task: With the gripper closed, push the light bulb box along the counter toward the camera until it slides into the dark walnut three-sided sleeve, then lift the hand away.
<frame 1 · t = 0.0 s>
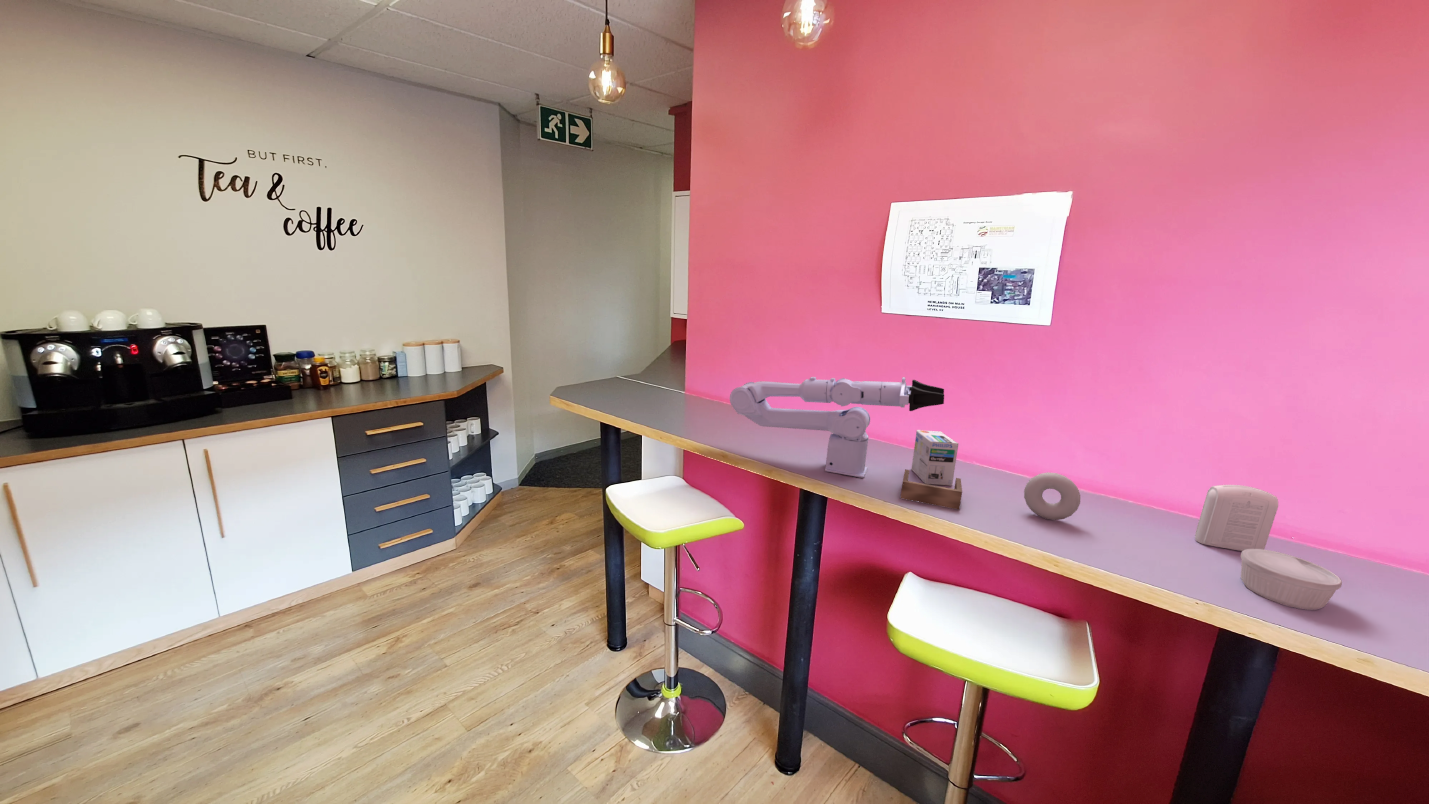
hand: (944, 396, 123), 22 cm above the table, tool horizontal, fingers open, 7 cm apart
light bulb box: (930, 478, 134), on the table
donut: (1046, 519, 113), on the table
walnut sleeve: (929, 496, 121), on the table
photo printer: (1227, 547, 104), on the table
ramekin: (1280, 595, 88), on the table
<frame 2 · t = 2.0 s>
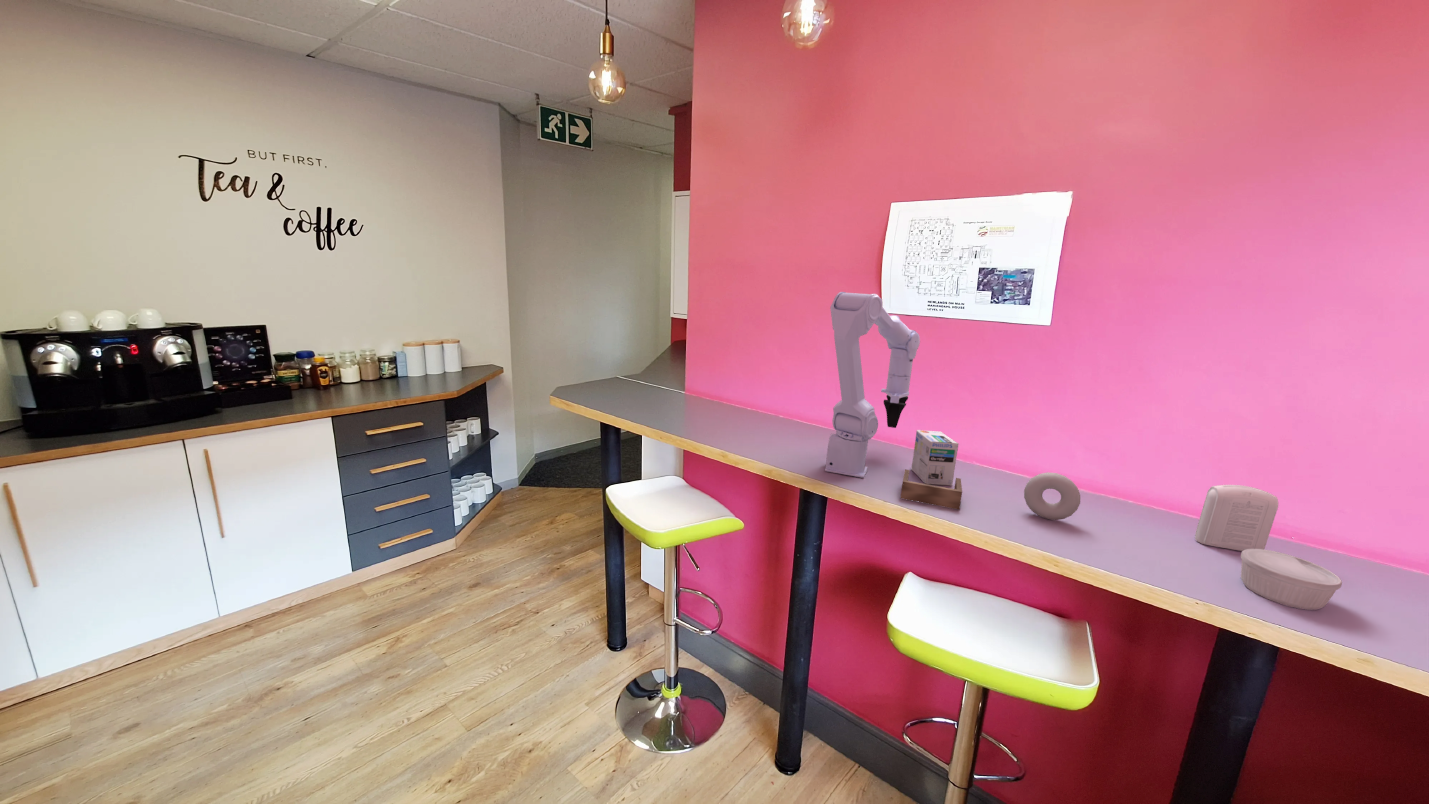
hand: (892, 424, 145), 9 cm above the table, tool pointing down, fingers open, 6 cm apart
nothing on the table moved.
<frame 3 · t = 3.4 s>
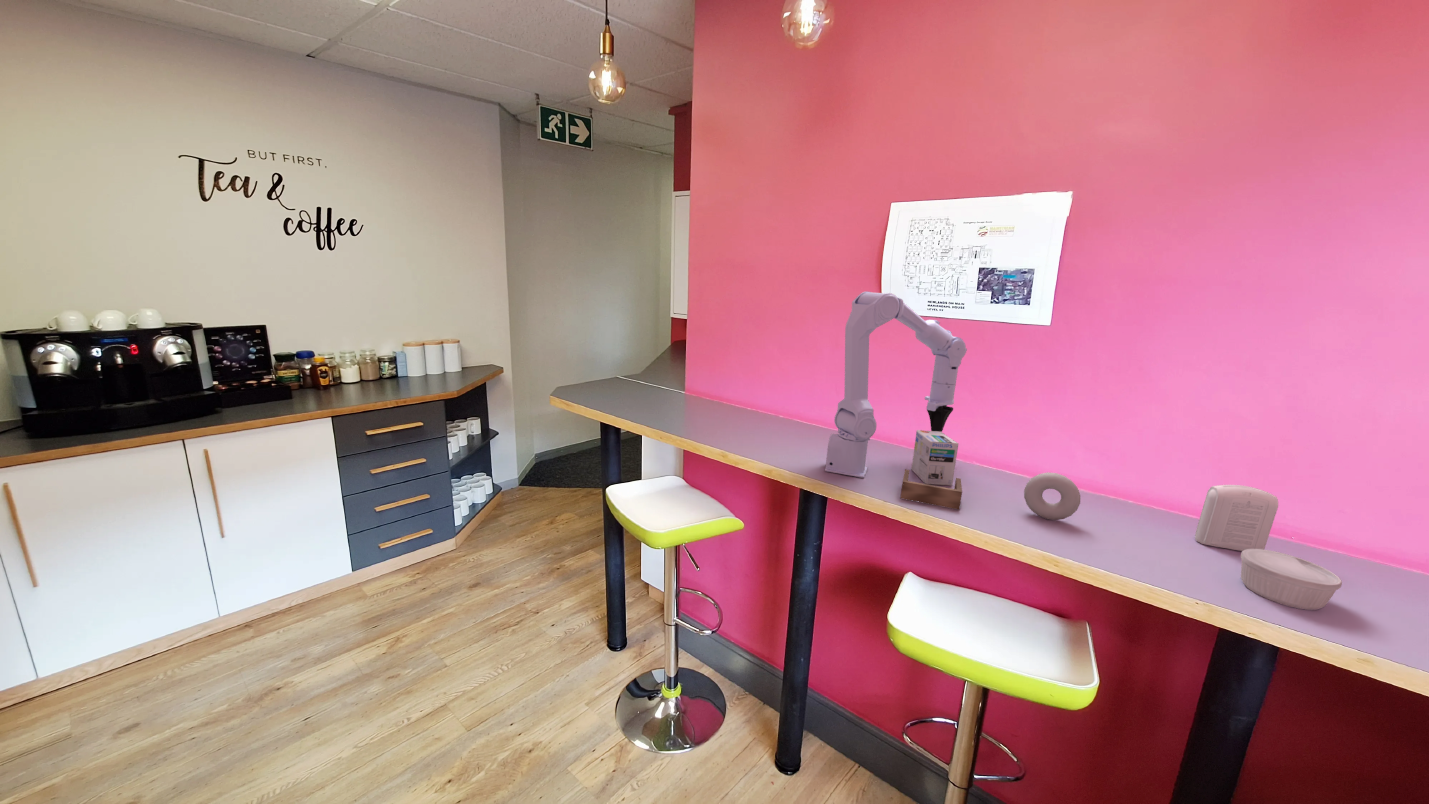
hand: (936, 433, 142), 9 cm above the table, tool pointing down, fingers closed
nothing on the table moved.
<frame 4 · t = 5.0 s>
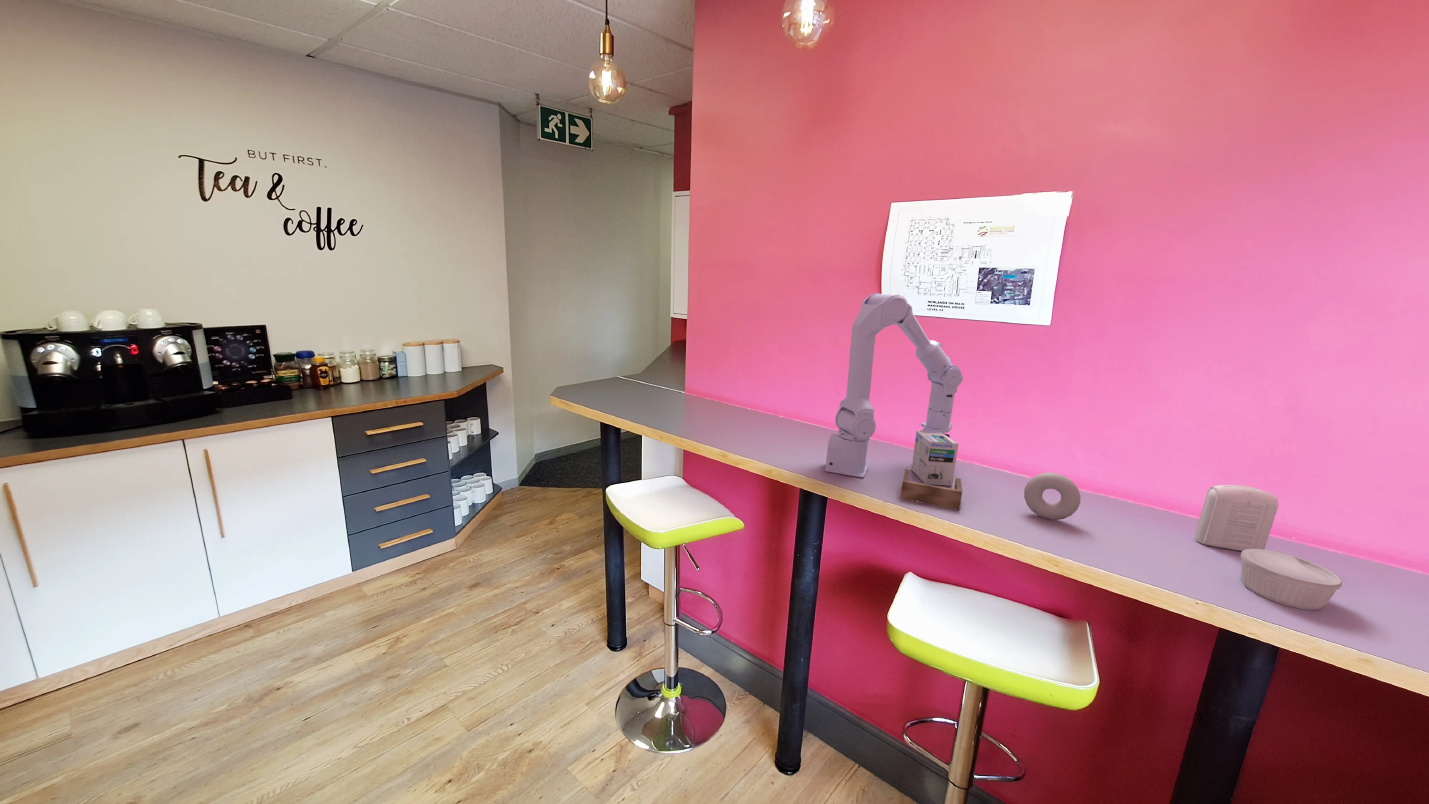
hand: (932, 460, 141), 2 cm above the table, tool pointing down, fingers closed
light bulb box: (930, 478, 133), on the table, touching gripper
everything else where it was.
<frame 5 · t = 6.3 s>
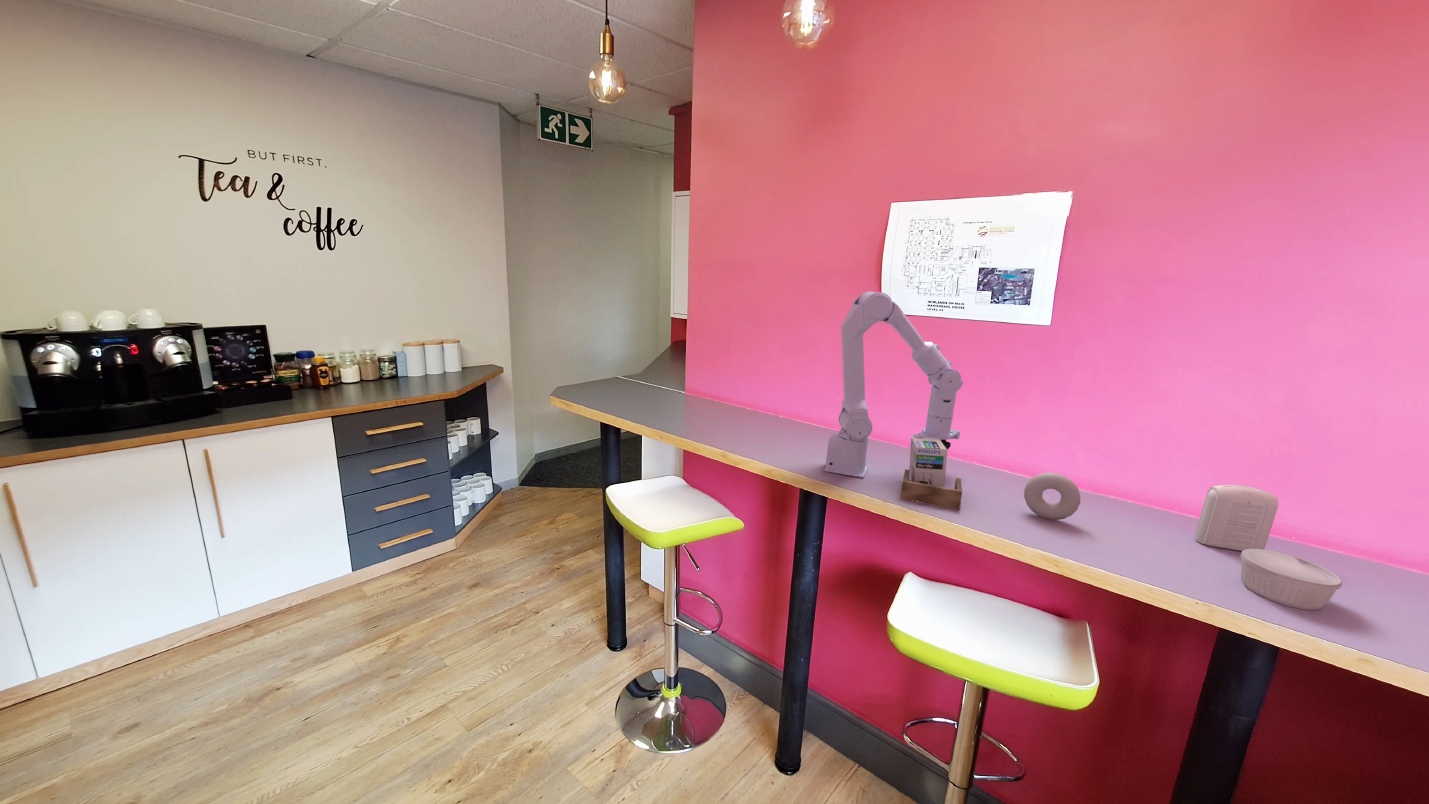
hand: (931, 468, 134), 2 cm above the table, tool pointing down, fingers closed
light bulb box: (924, 486, 127), on the table, touching gripper
everything else where it was.
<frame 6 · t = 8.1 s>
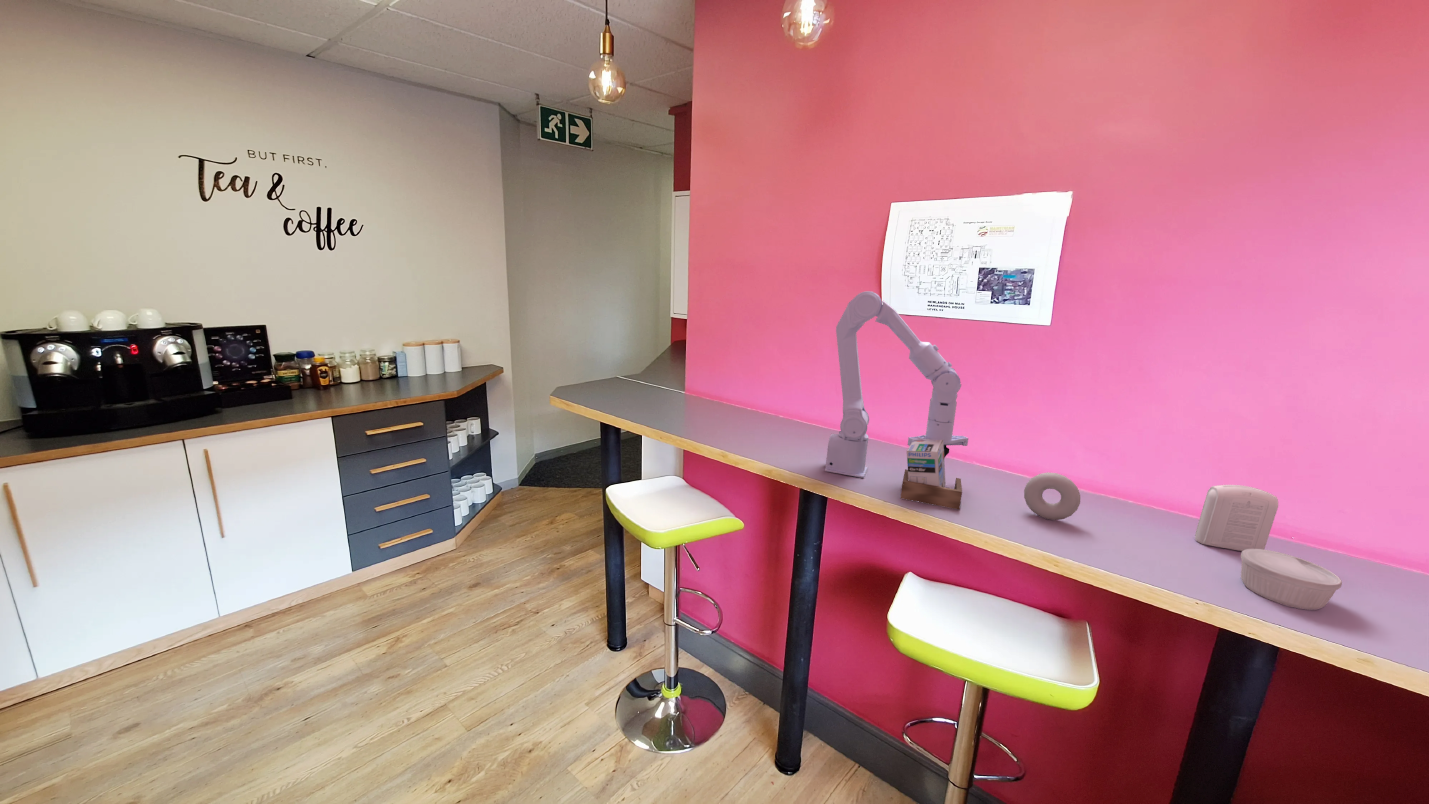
hand: (933, 474, 129), 2 cm above the table, tool pointing down, fingers closed, pressing on light bulb box
light bulb box: (927, 491, 123), point 1 cm above the table, touching gripper, walnut sleeve
everything else where it was.
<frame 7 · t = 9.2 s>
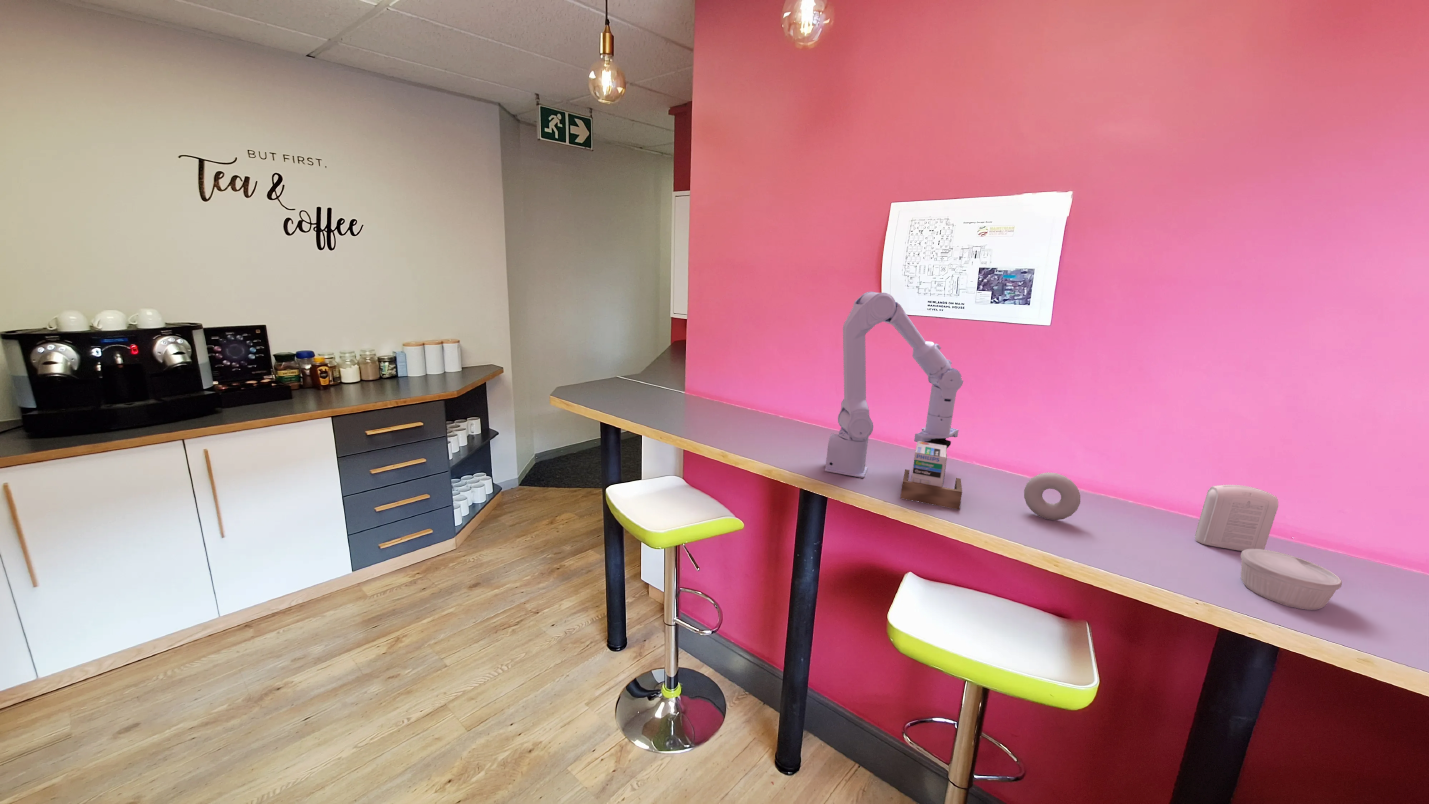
hand: (932, 466, 136), 2 cm above the table, tool pointing down, fingers closed
light bulb box: (924, 494, 123), resting in walnut sleeve
everything else where it was.
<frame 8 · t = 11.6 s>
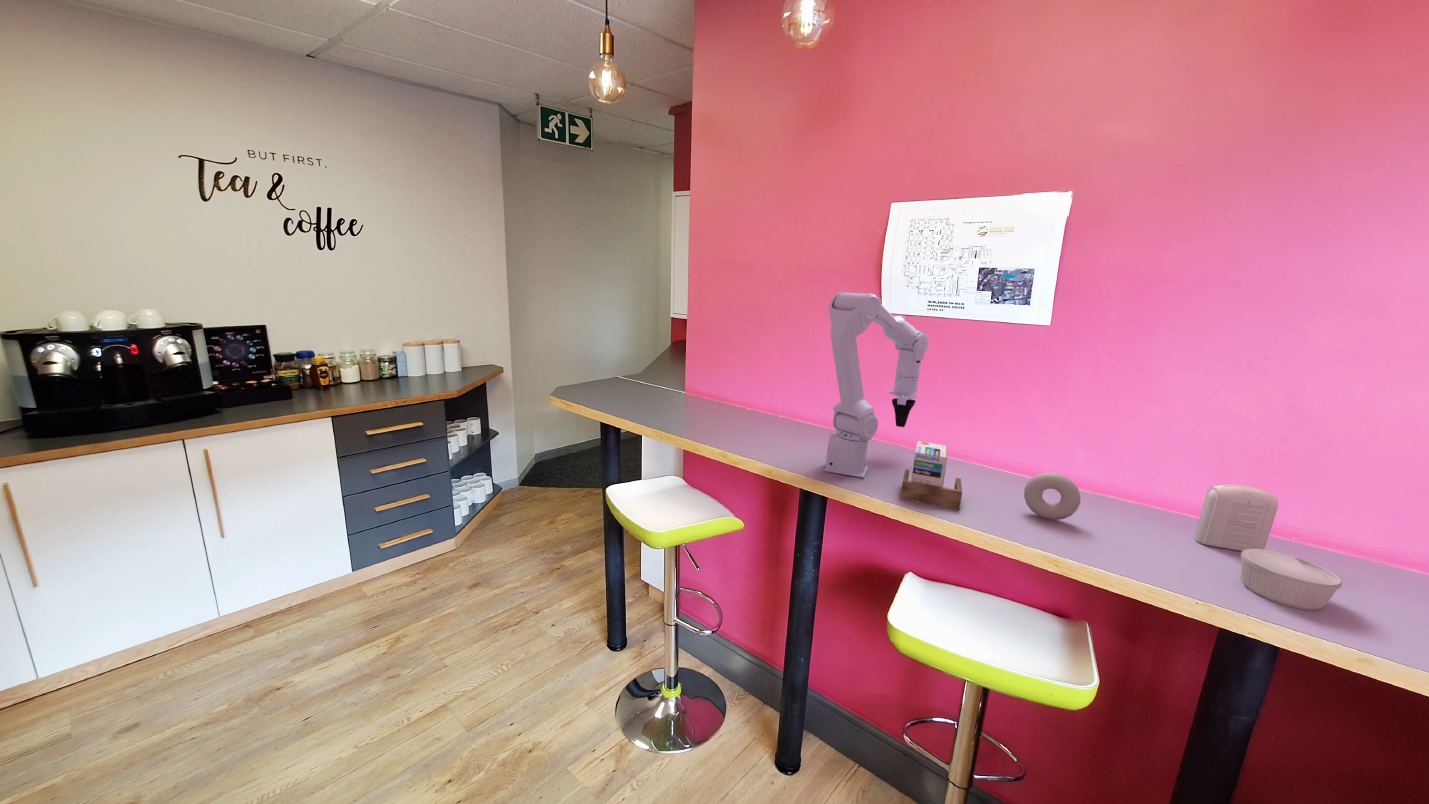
hand: (900, 426, 144), 9 cm above the table, tool pointing down, fingers closed
nothing on the table moved.
at the end: light bulb box 1.9 cm off-centre on the walnut sleeve, point 0.0 cm above the walnut sleeve's base; light bulb box tilted 0°; light bulb box moved 12.2 cm from its start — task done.
